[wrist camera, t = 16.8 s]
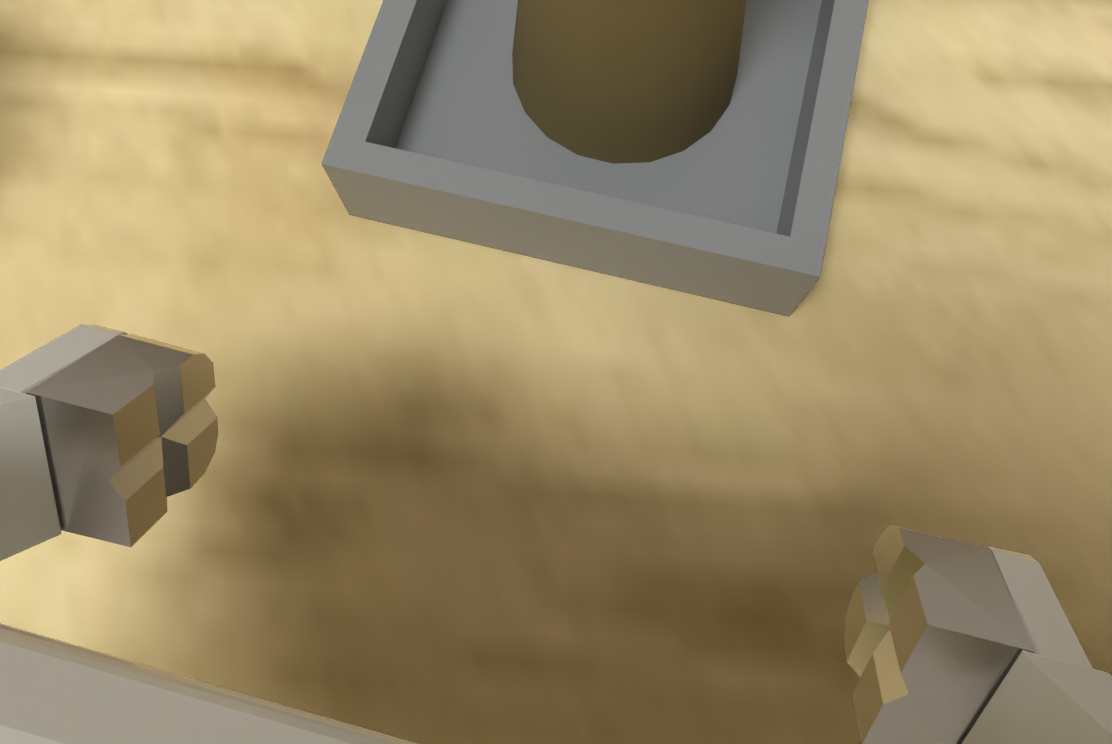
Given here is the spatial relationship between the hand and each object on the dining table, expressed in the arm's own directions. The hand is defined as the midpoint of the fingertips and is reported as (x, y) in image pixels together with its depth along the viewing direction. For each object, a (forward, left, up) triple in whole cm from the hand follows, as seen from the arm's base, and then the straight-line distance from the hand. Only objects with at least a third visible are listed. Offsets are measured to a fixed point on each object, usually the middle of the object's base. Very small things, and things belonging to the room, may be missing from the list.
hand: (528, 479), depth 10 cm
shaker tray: (+1, -13, -9) cm, 16 cm away
